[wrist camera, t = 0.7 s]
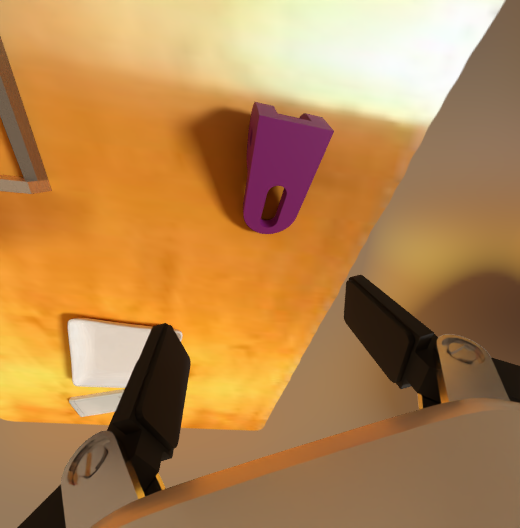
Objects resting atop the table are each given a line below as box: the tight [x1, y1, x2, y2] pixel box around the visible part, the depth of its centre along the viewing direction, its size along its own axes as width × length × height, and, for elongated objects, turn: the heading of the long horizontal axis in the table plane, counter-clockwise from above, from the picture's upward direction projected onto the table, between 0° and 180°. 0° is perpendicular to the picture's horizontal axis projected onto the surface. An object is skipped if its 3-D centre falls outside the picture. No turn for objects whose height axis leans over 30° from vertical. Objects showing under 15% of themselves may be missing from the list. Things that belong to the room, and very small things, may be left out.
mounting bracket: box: [243, 102, 334, 234], centre depth 32 cm, size 10×8×18 cm
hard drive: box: [69, 389, 124, 417], centre depth 52 cm, size 2×8×12 cm
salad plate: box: [68, 318, 182, 388], centre depth 45 cm, size 21×21×3 cm
